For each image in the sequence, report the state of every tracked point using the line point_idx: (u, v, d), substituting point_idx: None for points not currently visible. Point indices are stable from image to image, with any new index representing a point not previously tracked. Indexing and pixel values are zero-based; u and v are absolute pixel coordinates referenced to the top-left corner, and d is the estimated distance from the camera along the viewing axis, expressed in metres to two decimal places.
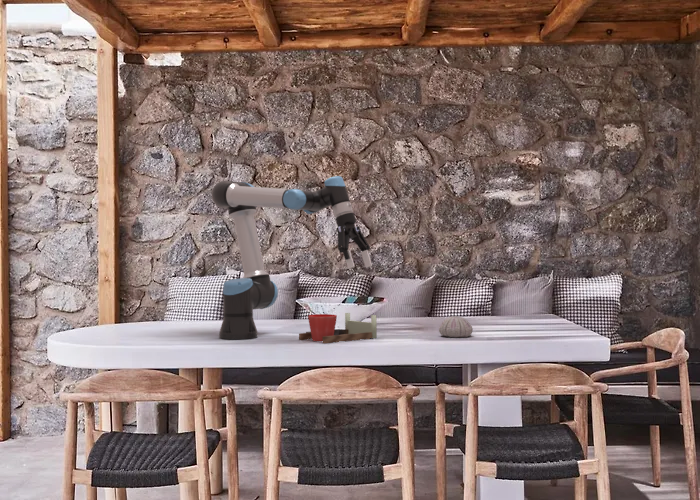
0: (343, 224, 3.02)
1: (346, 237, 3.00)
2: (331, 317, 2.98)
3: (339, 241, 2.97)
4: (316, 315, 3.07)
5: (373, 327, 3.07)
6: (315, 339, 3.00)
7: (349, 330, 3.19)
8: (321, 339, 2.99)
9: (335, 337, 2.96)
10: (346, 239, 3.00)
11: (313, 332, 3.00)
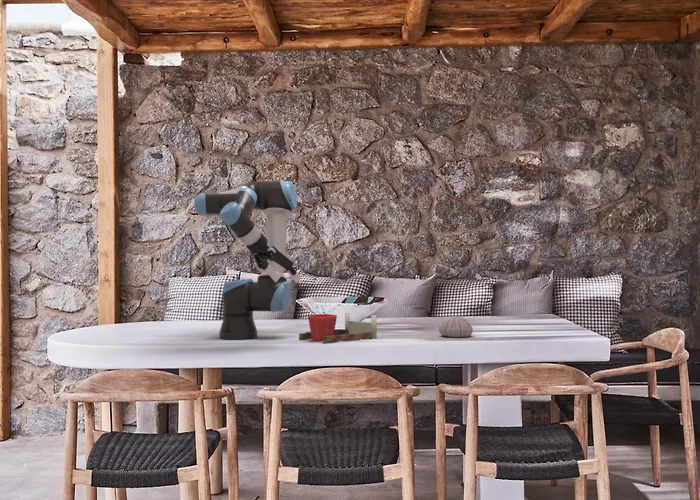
0: None
1: None
2: (331, 317, 2.98)
3: None
4: (316, 315, 3.07)
5: (373, 327, 3.07)
6: (315, 339, 3.00)
7: (349, 330, 3.19)
8: (321, 339, 2.99)
9: (335, 337, 2.96)
10: None
11: (313, 332, 3.00)
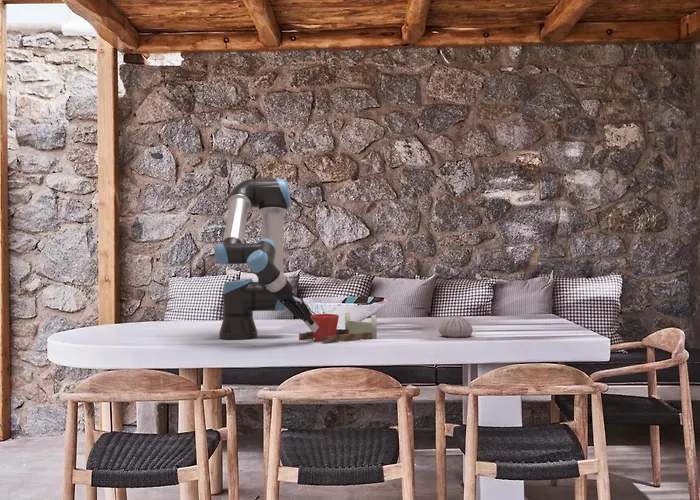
0: None
1: None
2: (333, 317, 2.99)
3: None
4: (318, 315, 3.07)
5: (373, 327, 3.07)
6: (317, 339, 3.00)
7: (349, 330, 3.19)
8: None
9: (335, 337, 2.96)
10: None
11: (315, 332, 3.00)
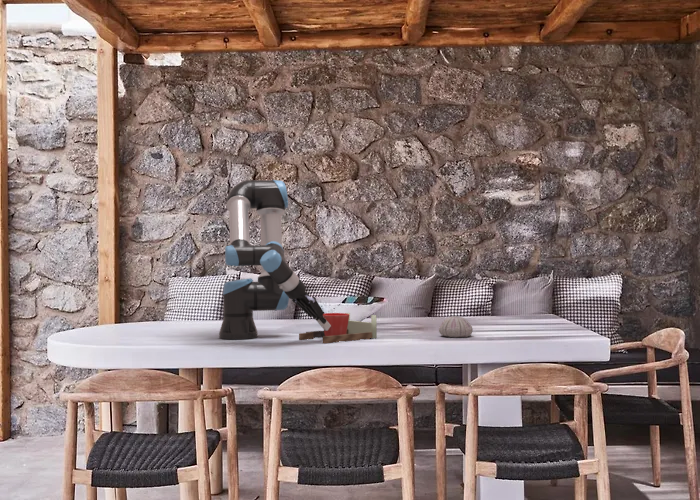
0: None
1: None
2: (345, 316, 3.04)
3: None
4: (327, 314, 3.11)
5: (373, 327, 3.07)
6: None
7: (349, 330, 3.19)
8: None
9: (335, 337, 2.96)
10: None
11: None
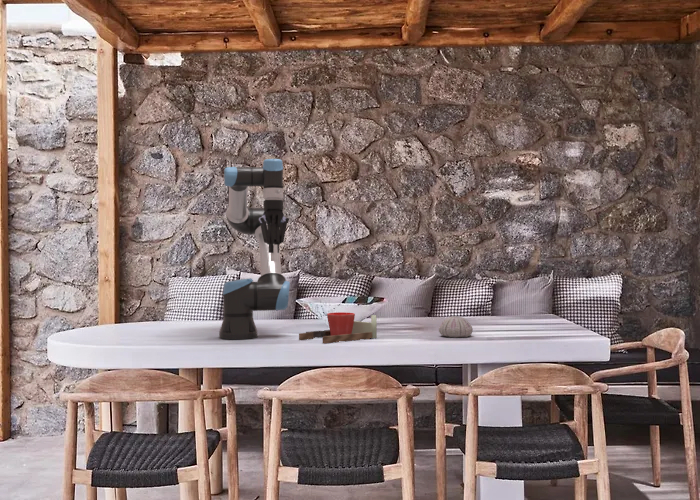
0: (263, 212, 2.98)
1: (270, 227, 3.00)
2: (351, 315, 3.07)
3: (263, 234, 2.99)
4: (333, 313, 3.15)
5: (373, 327, 3.07)
6: None
7: None
8: None
9: (335, 337, 2.96)
10: (270, 230, 3.00)
11: (333, 330, 3.07)
